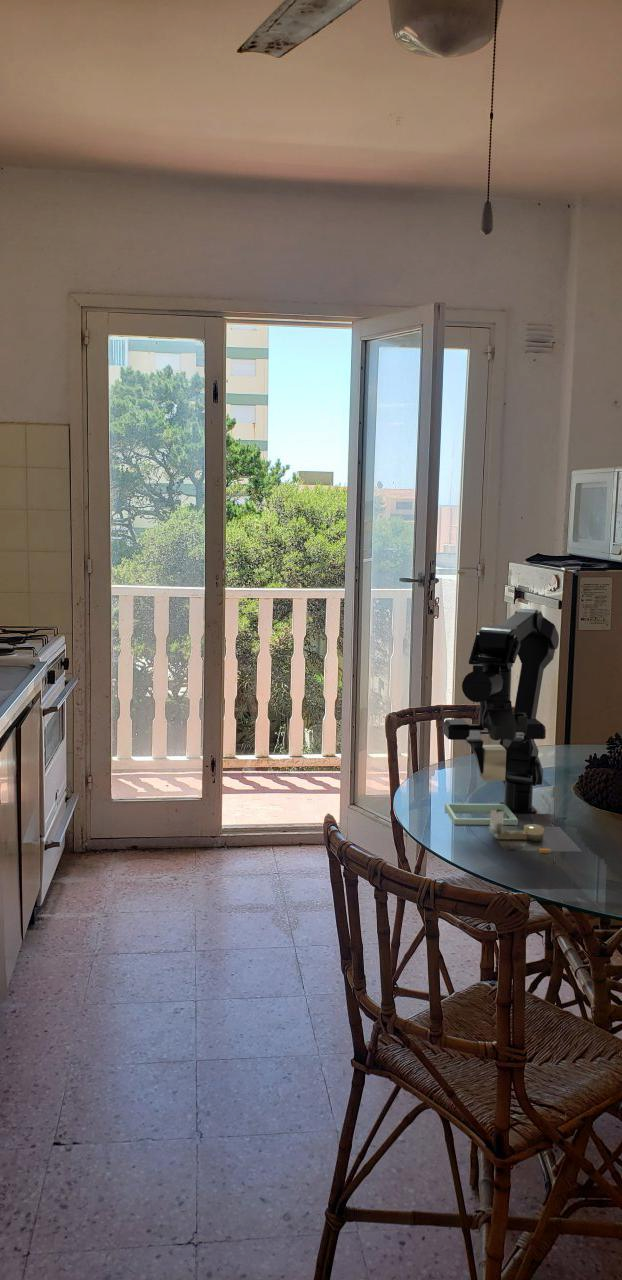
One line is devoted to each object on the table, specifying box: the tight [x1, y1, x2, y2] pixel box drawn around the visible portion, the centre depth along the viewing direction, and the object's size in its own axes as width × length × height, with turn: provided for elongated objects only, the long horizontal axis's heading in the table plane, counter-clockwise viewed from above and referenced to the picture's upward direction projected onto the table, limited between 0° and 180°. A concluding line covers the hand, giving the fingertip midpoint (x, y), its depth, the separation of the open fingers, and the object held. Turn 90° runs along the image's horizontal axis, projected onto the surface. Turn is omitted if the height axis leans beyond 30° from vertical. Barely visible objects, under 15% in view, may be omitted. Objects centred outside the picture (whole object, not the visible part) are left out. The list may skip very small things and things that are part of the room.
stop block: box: [479, 744, 506, 782], centre depth 190 cm, size 4×4×6 cm
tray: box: [444, 803, 519, 826], centre depth 196 cm, size 10×12×2 cm
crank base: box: [487, 826, 583, 854], centre depth 183 cm, size 15×14×2 cm
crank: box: [489, 809, 545, 841], centre depth 183 cm, size 10×4×5 cm, turn 92°
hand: (492, 772), depth 190 cm, fingers closed on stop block, 4 cm apart
